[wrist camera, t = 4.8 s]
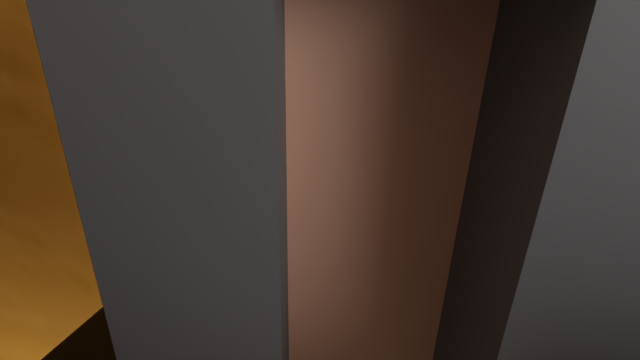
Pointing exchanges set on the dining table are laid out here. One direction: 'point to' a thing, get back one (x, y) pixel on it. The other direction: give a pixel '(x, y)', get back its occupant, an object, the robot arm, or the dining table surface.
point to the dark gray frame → (354, 175)
